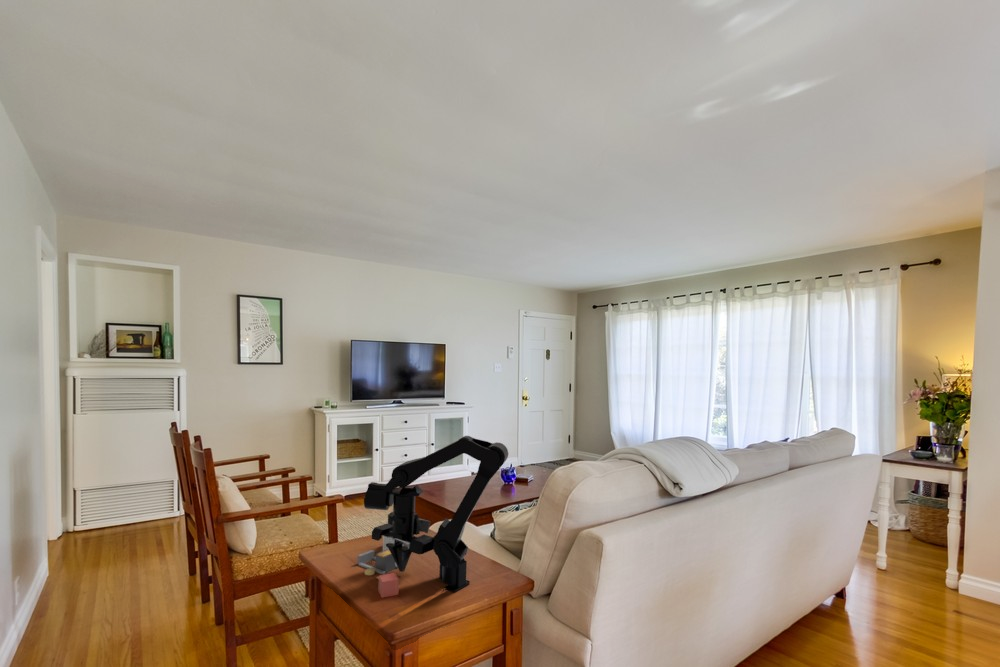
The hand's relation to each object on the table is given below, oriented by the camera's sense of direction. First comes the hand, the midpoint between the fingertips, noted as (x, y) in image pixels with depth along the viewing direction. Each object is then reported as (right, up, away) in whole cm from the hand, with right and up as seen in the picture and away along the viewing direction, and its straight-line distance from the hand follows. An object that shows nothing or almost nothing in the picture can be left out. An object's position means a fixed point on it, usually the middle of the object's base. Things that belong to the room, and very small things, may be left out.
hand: (402, 571), depth 131 cm
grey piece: (-7, -2, +3) cm, 8 cm away
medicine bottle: (-5, -3, +18) cm, 19 cm away
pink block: (-1, -2, -10) cm, 10 cm away
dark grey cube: (-5, -1, +4) cm, 6 cm away
